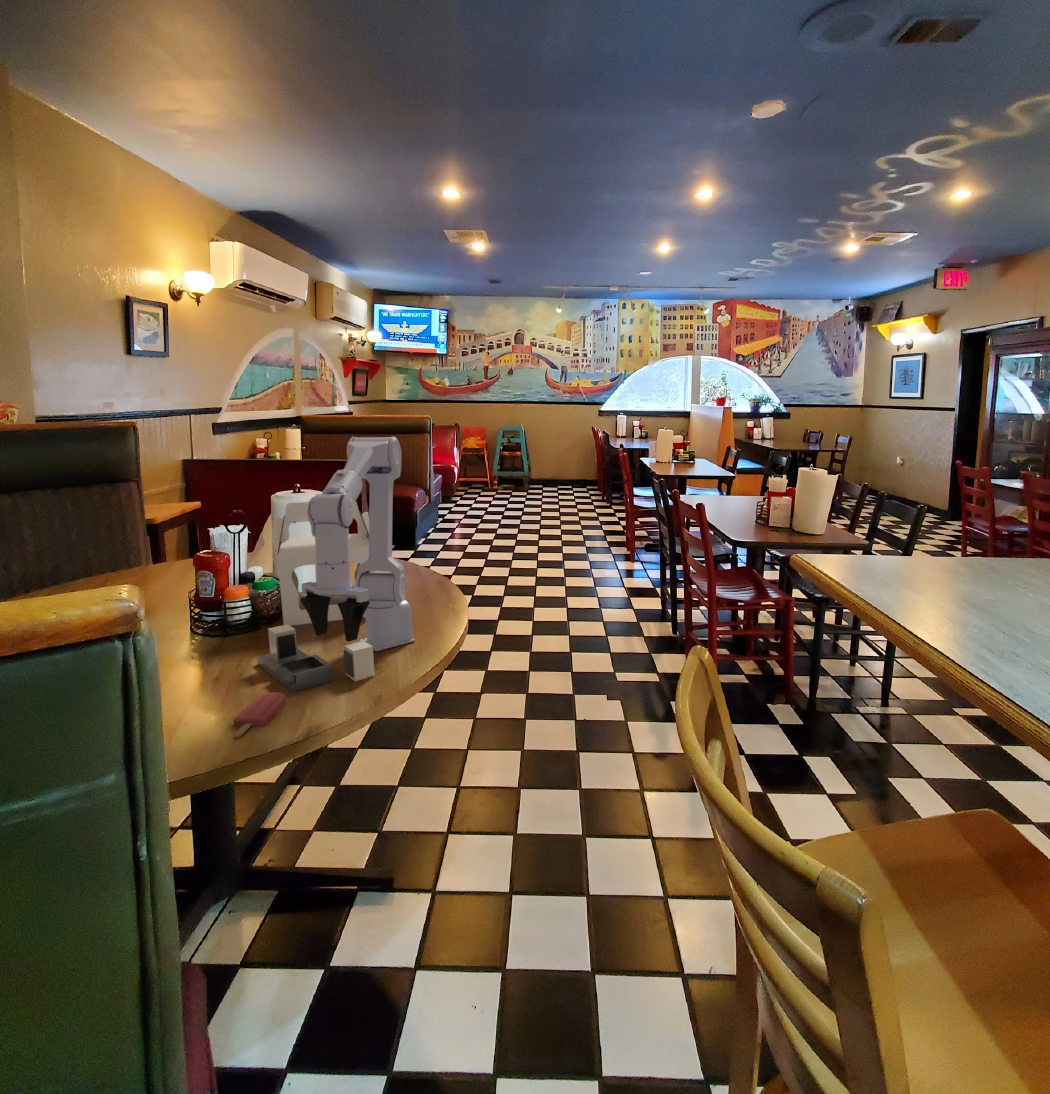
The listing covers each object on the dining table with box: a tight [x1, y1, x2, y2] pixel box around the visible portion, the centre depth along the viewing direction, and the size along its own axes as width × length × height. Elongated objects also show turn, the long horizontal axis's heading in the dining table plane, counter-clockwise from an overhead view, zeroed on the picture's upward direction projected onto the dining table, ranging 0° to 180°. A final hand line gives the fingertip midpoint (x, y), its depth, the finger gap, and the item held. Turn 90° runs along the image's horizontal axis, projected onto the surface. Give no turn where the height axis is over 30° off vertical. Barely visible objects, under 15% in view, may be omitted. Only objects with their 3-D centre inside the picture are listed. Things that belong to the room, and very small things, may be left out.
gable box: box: [274, 500, 376, 627], centre depth 167 cm, size 22×13×28 cm, turn 109°
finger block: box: [343, 640, 376, 682], centre depth 130 cm, size 4×4×6 cm
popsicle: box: [232, 691, 287, 738], centre depth 114 cm, size 5×2×15 cm
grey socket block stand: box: [256, 624, 334, 693], centre depth 132 cm, size 8×18×8 cm, turn 39°
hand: (336, 637), depth 122 cm, fingers open, 7 cm apart
